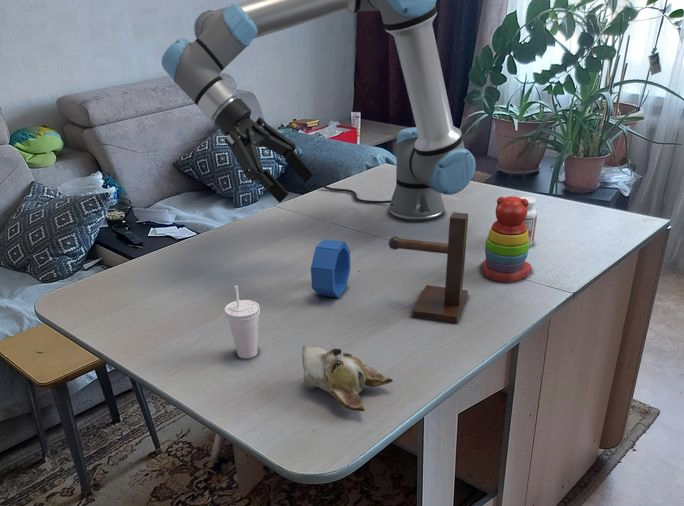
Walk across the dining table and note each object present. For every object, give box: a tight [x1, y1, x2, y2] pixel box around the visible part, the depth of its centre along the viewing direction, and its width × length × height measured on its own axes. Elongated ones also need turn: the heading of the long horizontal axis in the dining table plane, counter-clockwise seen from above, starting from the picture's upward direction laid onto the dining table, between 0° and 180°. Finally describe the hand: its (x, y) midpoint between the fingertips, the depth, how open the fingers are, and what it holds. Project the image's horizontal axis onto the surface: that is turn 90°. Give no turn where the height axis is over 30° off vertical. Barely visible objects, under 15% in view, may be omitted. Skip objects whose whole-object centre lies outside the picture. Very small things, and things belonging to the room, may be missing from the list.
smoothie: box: [224, 285, 261, 359], centre depth 118 cm, size 6×6×14 cm
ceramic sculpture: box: [301, 344, 394, 412], centre depth 107 cm, size 11×9×15 cm
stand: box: [388, 211, 469, 324], centre depth 130 cm, size 16×12×20 cm
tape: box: [310, 238, 351, 299], centre depth 139 cm, size 5×11×11 cm, turn 160°
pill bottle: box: [519, 196, 538, 247], centre depth 158 cm, size 6×6×11 cm
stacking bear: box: [481, 196, 532, 283], centre depth 142 cm, size 11×10×18 cm
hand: (297, 188), depth 135 cm, fingers open, 13 cm apart
